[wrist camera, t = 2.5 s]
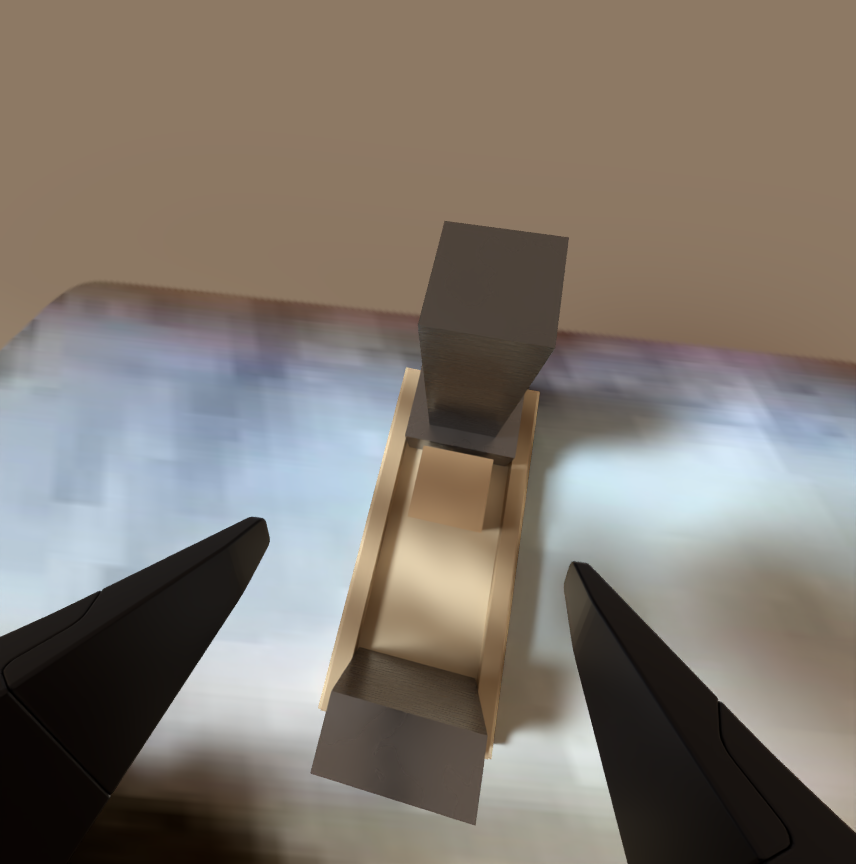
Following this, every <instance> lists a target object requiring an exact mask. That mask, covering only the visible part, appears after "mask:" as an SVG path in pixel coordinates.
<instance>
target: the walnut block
mask: <svg viewBox="0 0 856 864" xmlns="http://www.w3.org/2000/svg"><path fill="white" fill-rule="evenodd" d="M492 465H493V459H488V458H483V457H478V456H473V455H468V454H463V453H458V452H454V451H449V450H444V449H439V448H434V447H429V446H423V450H422V454H421V459H420V463H419V468H418V472H417V477H416V481H415V485H414V490H413V494H412V499H411V503H410V507H409V512H408V517H412V518H417V519H421V520H425V521H430V522H434V523H439V524H443V525H448V526H452V527H456V528H461V529H465V530H470V531H474V532H478V533H481V532H482V526H483V520H484V514H485V508H486V502H487V496H488V490H489V484H490V478H491V471H492Z"/></svg>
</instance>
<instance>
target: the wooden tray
mask: <svg viewBox="0 0 856 864" xmlns="http://www.w3.org/2000/svg"><path fill="white" fill-rule="evenodd" d="M420 372H421V370H416V369H411V368H406V370H405V374H404V378H403V382H402V386H401V390H400V394H399V397H398V401H397V405H396V409H395V413H394V417H393V421H392V425H391V428H390V432H389V436H388V440H387V444H386V448H385V452H384V455H383V459H382V463H381V467H380V471H379V475H378V479H377V482H376V486H375V490H374V494H373V498H372V502H371V506H370V509H369V513H368V517H367V521H366V525H365V529H364V533H363V537H362V540H361V544H360V548H359V552H358V556H357V560H356V564H355V567H354V571H353V575H352V579H351V583H350V587H349V591H348V594H347V598H346V602H345V606H344V610H343V614H342V618H341V622H340V625H339V629H338V633H337V637H336V641H335V645H334V649H333V652H332V656H331V660H330V664H329V668H328V672H327V676H326V679H325V683H324V687H323V691H322V695H321V699H320V703H319V706H318V708H319V709H321V710H322V711H326V710H327V706H328V702H329V698H330V694H331V691H332V689H333V687H334V686H335V684H336V683H337V681H338V680H339V678H340V677H341V675H342V673H343V672H344V670H345V669H346V667H347V666H348V664H349V662H350V661H351V659H352V658H353V656H354V655H355V653H356V651H357V650H358V648H359V647H362V648H366V649H369V650H373V651H377V652H380V653H384V654H388V655H391V656H395V657H399V658H403V659H406V660H410V661H414V662H417V663H421V664H425V665H428V666H432V667H436V668H439V669H443V670H447V671H450V672H454V673H458V674H461V675H465V676H469V677H472V678H475V680H476V684H477V689H478V694H479V698H480V703H481V707H482V712H483V717H484V721H485V726H486V730H487V735H488V737H487V745H486V752H485V759H488V758H489V759H491V757H492V749H493V741H494V734H495V726H496V719H497V711H498V704H499V696H500V689H501V681H502V674H503V666H504V658H505V651H506V643H507V636H508V628H509V621H510V613H511V606H512V598H513V591H514V583H515V576H516V568H517V560H518V553H519V545H520V538H521V530H522V523H523V515H524V508H525V500H526V493H527V485H528V477H529V470H530V462H531V455H532V447H533V440H534V432H535V425H536V417H537V410H538V402H539V394H540V392H538V391H533V390H527V391H526V392H525V394H524V401H523V408H522V415H521V422H520V428H519V435H518V442H517V449H516V456H515V459H514V460H512V461H511V462H510V463H509V464H507V465H506V466H505V467H504V466H499V465H495V464H493V465H492V471H491V478H490V484H489V490H488V496H487V502H486V508H485V514H484V520H483V526H482V532H481V533H478V532H474V531H470V530H465V529H461V528H456V527H452V526H448V525H443V524H439V523H434V522H430V521H425V520H421V519H417V518H412V517H408V512H409V507H410V503H411V499H412V494H413V490H414V485H415V481H416V477H417V472H418V468H419V463H420V459H421V454H422V450H421V449H416V448H412V447H409V445H408V442H407V440H406V438H405V433H406V429H407V425H408V421H409V417H410V413H411V409H412V404H413V400H414V396H415V392H416V388H417V384H418V380H419V376H420Z"/></svg>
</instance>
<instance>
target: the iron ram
mask: <svg viewBox="0 0 856 864" xmlns="http://www.w3.org/2000/svg"><path fill="white" fill-rule="evenodd" d="M568 240H569V238H568V237H561V236H554V235H546V234H539V233H531V232H524V231H516V230H509V229H501V228H494V227H486V226H478V225H471V224H464V223H455V222H448V221H445V222H444V226H443V230H442V234H441V237H440V242H439V246H438V249H437V253H436V257H435V261H434V265H433V269H432V272H431V276H430V280H429V284H428V288H427V292H426V295H425V300H424V303H423V307H422V311H421V315H420V319H419V323H418V331H419V339H420V348H421V356H422V368H421V372H420V376H419V380H418V384H417V388H416V392H415V396H414V400H413V404H412V409H411V413H410V417H409V421H408V425H407V429H406V433H405V438H406V440H407V442H408V445H409V447H412V448H416V449H421V450H423V446H429V447H434V448H439V449H444V450H449V451H454V452H458V453H463V454H468V455H473V456H478V457H483V458H488V459H493V464H495V465H499V466H504V467H505V466H506V465H507V464H509V463H510V462H511V461H512V460H514V459H515V456H516V449H517V442H518V435H519V428H520V422H521V415H522V408H523V401H524V394H525V392H526V391H527V389H528V388H529V386H530V385H531V383H532V382H533V380H534V379H535V377H536V376H537V374H538V373H539V371H540V370H541V368H542V367H543V365H544V364H545V362H546V361H547V359H548V358H549V356H550V355H551V353H552V352H553V350H554V349H555V345H556V337H557V329H558V321H559V313H560V305H561V297H562V288H563V280H564V272H565V264H566V255H567V248H568Z"/></svg>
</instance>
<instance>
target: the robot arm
mask: <svg viewBox="0 0 856 864" xmlns="http://www.w3.org/2000/svg"><path fill="white" fill-rule="evenodd" d="M269 542H270V537H269V533H268V528H267V524H266V521H265V519H263V518H259V517H249V518H247V519H245V520H242V521H240V522H238V523H236V524H234V525H232V526H230V527H228V528H226V529H224V530H222V531H220V532H218V533H216V534H214V535H212V536H210V537H208V538H206V539H204V540H202V541H200V542H198V543H196V544H194V545H192V546H190V547H188V548H185V549H183V550H181V551H179V552H177V553H175V554H173V555H171V556H169V557H167V558H165V559H163V560H161V561H159V562H157V563H155V564H153V565H151V566H149V567H147V568H145V569H143V570H141V571H139V572H137V573H135V574H132V575H130V576H128V577H126V578H124V579H122V580H120V581H118V582H116V583H114V584H112V585H110V586H108V587H106V588H104V589H103V590H102V591H98V592H96V593H94V594H92V595H90V596H88V597H86V598H84V599H81V600H79V601H77V602H75V603H73V604H71V605H69V606H67V607H65V608H63V609H61V610H58V611H56V612H54V613H52V614H50V615H48V616H46V617H44V618H41V619H39V620H37V621H35V622H32V623H30V624H28V625H26V626H24V627H21V628H19V629H17V630H15V631H12V632H10V633H8V634H6V635H3V636H1V637H0V864H67V862H68V861H69V859H70V858H71V856H72V855H73V853H74V852H75V850H76V849H77V847H78V846H79V844H80V842H81V841H82V839H83V838H84V836H85V835H86V833H87V832H88V830H89V829H90V827H91V826H92V824H93V823H94V821H95V820H96V818H97V817H98V815H99V813H100V812H101V810H102V809H103V807H104V806H105V804H106V803H107V801H108V800H109V798H110V795H111V794H112V793H113V792H114V790H115V789H116V787H117V786H118V784H119V782H120V781H121V779H122V778H123V776H124V775H125V773H126V772H127V770H128V769H129V767H130V766H131V764H132V763H133V761H134V760H135V758H136V757H137V755H138V753H139V752H140V750H141V749H142V747H143V746H144V744H145V743H146V741H147V740H148V738H149V737H150V735H151V734H152V732H153V731H154V729H155V728H156V726H157V724H158V723H159V721H160V720H161V718H162V717H163V715H164V714H165V712H166V711H167V709H168V708H169V706H170V705H171V703H172V702H173V700H174V698H175V697H176V695H177V694H178V692H179V691H180V689H181V688H182V686H183V685H184V683H185V682H186V680H187V679H188V677H189V676H190V674H191V673H192V671H193V669H194V668H195V666H196V665H197V663H198V662H199V660H200V659H201V657H202V656H203V654H204V653H205V651H206V650H207V648H208V647H209V645H210V644H211V642H212V640H213V639H214V637H215V636H216V634H217V633H218V631H219V630H220V628H221V627H222V625H223V624H224V622H225V621H226V619H227V618H228V616H229V615H230V613H231V611H232V610H233V608H234V607H235V605H236V604H237V602H238V601H239V599H240V597H241V596H242V594H243V593H244V591H245V589H246V587H247V585H248V584H249V582H250V580H251V578H252V576H253V574H254V572H255V570H256V569H257V567H258V565H259V563H260V561H261V559H262V557H263V555H264V553H265V552H266V550H267V548H268V546H269ZM564 593H565V600H566V606H567V613H568V620H569V627H570V633H571V640H572V646H573V651H574V656H575V660H576V664H577V668H578V672H579V676H580V680H581V684H582V687H583V691H584V695H585V699H586V703H587V707H588V711H589V715H590V719H591V723H592V726H593V730H594V734H595V738H596V742H597V746H598V750H599V754H600V758H601V762H602V766H603V769H604V773H605V777H606V781H607V785H608V789H609V793H610V797H611V801H612V805H613V808H614V812H615V816H616V820H617V824H618V828H619V832H620V836H621V840H622V844H623V847H624V851H625V855H626V859H627V863H628V864H856V833H855V832H854V831H853V830H852V829H851V828H850V827H849V826H848V825H847V824H846V823H845V822H844V821H842V820H841V819H840V818H839V817H838V816H837V815H836V814H835V813H834V812H833V811H832V810H831V809H830V808H829V807H828V806H827V805H825V804H824V803H823V802H822V801H821V800H820V799H819V798H818V797H817V796H816V795H815V794H814V793H813V792H812V791H811V790H810V789H809V788H808V787H807V786H805V785H804V784H803V783H802V782H801V781H800V780H799V779H798V778H797V777H796V776H795V775H794V774H793V773H792V772H791V771H790V770H789V769H788V768H787V767H786V766H785V765H784V764H783V763H782V762H781V761H780V760H778V759H777V758H776V757H775V756H774V755H773V754H772V753H771V752H770V751H769V750H768V749H767V748H766V747H765V746H764V745H763V744H762V743H761V742H760V741H759V740H758V739H757V738H756V737H755V736H754V734H753V733H752V732H751V731H750V730H749V729H748V728H747V727H746V726H745V725H744V724H743V723H742V722H741V721H740V720H739V719H738V718H737V717H736V716H735V715H734V714H733V713H732V712H731V711H730V710H729V709H728V708H727V707H726V706H725V705H724V704H723V703H722V702H721V701H718V698H717V697H716V696H715V694H714V693H713V692H712V691H711V690H710V689H709V688H708V687H707V686H706V685H705V684H704V683H703V682H702V681H701V680H700V679H699V678H698V677H697V676H696V675H695V674H694V673H693V672H692V671H691V670H690V669H689V667H688V666H687V665H686V664H685V663H684V662H683V661H682V660H681V659H680V658H679V657H678V656H677V655H676V654H675V653H674V652H673V651H672V650H671V649H670V648H669V647H668V646H667V645H666V644H665V643H664V642H663V640H662V639H661V638H660V637H659V636H658V635H657V634H656V633H655V632H654V631H653V630H652V629H651V628H650V627H649V626H648V625H647V624H646V623H645V622H644V621H643V620H642V619H641V618H640V617H639V616H638V614H637V613H636V612H635V611H634V610H633V609H632V608H631V607H630V606H629V605H628V604H627V603H626V602H625V601H624V600H623V599H622V598H621V597H620V596H619V595H618V594H617V593H616V592H615V591H614V590H613V589H612V587H611V586H610V585H609V584H608V583H607V582H606V581H605V580H604V579H603V578H602V577H601V576H600V575H599V574H598V573H597V572H596V571H595V570H594V569H593V568H592V567H591V566H590V565H589V564H588V563H583V562H576V561H573V562H571V564H570V566H569V569H568V572H567V575H566V579H565V582H564Z"/></svg>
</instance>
